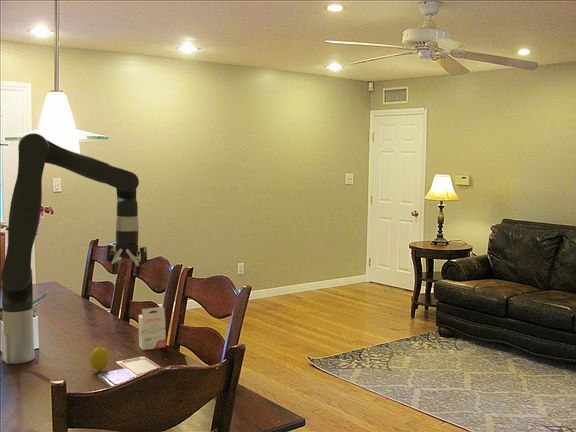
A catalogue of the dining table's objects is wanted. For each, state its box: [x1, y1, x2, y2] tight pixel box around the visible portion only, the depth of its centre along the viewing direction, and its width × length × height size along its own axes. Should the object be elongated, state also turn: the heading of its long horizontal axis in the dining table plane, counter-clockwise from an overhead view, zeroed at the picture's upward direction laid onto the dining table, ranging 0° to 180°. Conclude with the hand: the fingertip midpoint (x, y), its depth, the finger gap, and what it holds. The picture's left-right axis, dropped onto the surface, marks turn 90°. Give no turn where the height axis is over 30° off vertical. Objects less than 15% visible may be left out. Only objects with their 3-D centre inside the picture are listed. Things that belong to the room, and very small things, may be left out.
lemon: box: [90, 346, 110, 372], centre depth 199 cm, size 6×6×8 cm
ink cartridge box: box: [138, 306, 167, 351], centre depth 224 cm, size 9×5×15 cm, turn 117°
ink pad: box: [98, 368, 136, 388], centre depth 191 cm, size 9×13×2 cm
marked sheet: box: [115, 356, 161, 376], centre depth 203 cm, size 10×18×1 cm, turn 36°
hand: (126, 275), depth 219 cm, fingers open, 8 cm apart
